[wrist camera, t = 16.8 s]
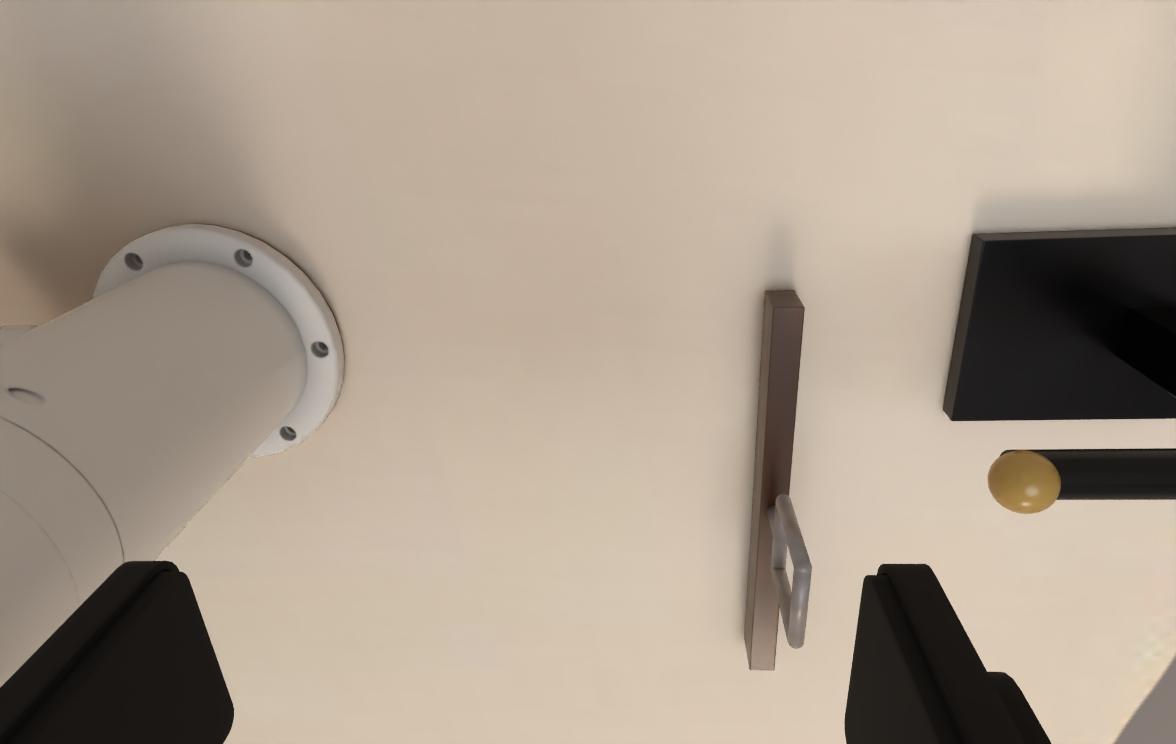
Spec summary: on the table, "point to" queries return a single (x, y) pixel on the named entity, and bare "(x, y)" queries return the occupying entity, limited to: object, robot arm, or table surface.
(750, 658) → the hanger
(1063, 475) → the coat stand
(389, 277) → the table surface
